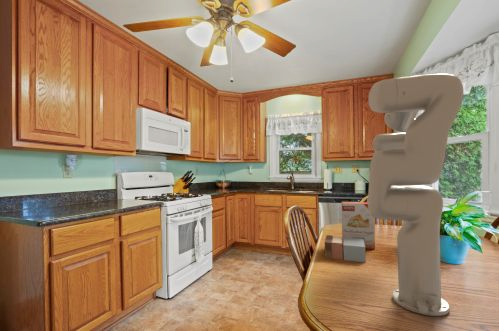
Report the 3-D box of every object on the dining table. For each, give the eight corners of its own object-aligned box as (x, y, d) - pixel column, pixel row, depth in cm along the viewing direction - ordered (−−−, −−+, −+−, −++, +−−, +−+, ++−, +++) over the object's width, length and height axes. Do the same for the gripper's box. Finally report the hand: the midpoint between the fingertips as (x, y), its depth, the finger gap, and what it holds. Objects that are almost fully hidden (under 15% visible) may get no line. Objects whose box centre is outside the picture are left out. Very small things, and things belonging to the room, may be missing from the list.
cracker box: (342, 247, 116) (341, 202, 116) (341, 243, 122) (340, 201, 122) (375, 249, 112) (374, 203, 112) (373, 245, 118) (372, 201, 118)
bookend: (331, 258, 101) (330, 242, 101) (324, 258, 102) (324, 242, 102) (332, 249, 112) (332, 235, 113) (327, 249, 113) (326, 235, 113)
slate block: (365, 262, 97) (365, 246, 97) (343, 260, 99) (343, 245, 100) (363, 252, 108) (363, 239, 108) (343, 251, 111) (343, 237, 111)
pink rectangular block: (342, 259, 100) (342, 243, 101) (331, 258, 102) (331, 242, 102) (343, 252, 110) (342, 237, 110) (332, 250, 111) (332, 236, 112)
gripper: (365, 167, 99) (367, 214, 98) (409, 166, 94) (411, 215, 92) (364, 168, 106) (365, 211, 105) (404, 168, 101) (406, 213, 99)
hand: (387, 213), depth 99 cm, fingers closed
